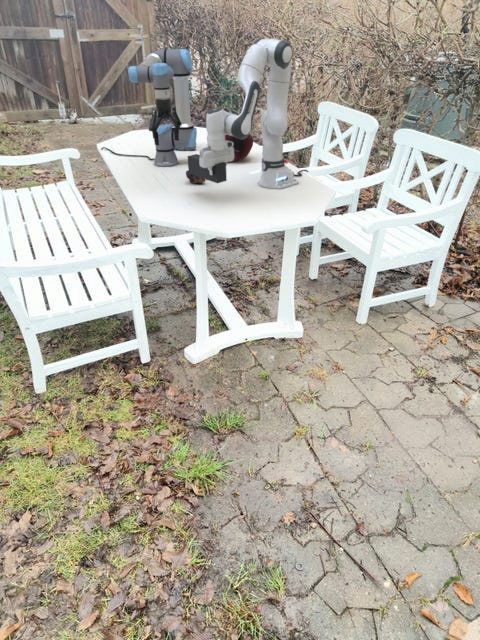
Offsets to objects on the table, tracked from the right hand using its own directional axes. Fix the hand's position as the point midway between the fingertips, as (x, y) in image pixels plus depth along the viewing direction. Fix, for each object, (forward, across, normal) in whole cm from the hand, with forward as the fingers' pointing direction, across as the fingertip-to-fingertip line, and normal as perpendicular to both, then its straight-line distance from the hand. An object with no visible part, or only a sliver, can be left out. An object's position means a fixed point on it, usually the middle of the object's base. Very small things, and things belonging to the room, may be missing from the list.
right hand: (217, 173), depth 227 cm
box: (+4, 0, +9) cm, 9 cm away
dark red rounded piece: (+15, +60, +54) cm, 83 cm away
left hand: (-10, -6, +34) cm, 36 cm away
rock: (+15, +10, +33) cm, 38 cm away
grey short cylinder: (+15, +54, +102) cm, 116 cm away
